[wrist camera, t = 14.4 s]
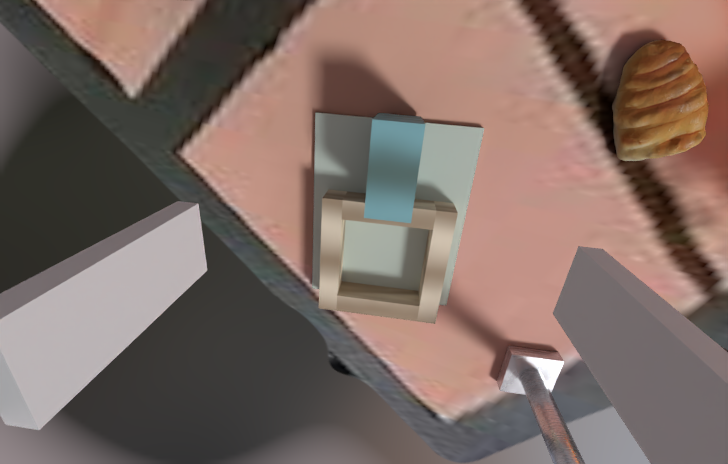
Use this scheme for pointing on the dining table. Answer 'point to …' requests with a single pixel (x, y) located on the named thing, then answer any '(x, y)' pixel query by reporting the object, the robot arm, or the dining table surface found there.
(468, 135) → the mat
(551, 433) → the stand
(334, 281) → the sponge holder
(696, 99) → the pastry
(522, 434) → the dining table surface
